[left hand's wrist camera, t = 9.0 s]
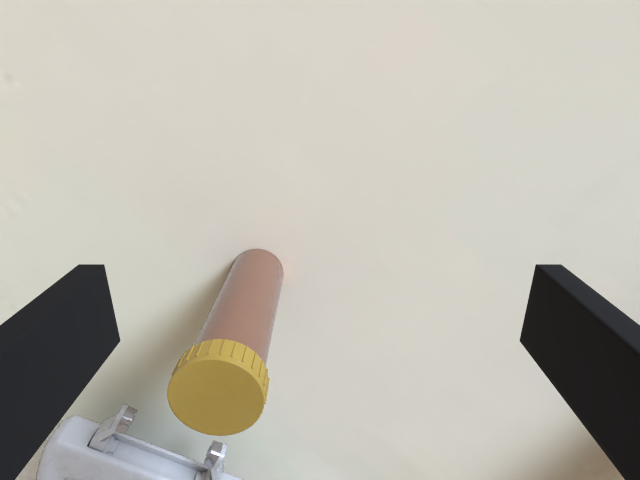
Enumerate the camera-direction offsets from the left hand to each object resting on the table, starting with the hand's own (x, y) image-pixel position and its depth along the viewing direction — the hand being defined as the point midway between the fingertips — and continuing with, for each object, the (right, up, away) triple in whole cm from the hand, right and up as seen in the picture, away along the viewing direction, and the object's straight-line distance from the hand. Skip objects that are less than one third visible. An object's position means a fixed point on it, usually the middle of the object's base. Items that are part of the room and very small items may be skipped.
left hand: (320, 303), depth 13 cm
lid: (-6, -8, +12) cm, 16 cm away
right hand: (-14, -16, +27) cm, 34 cm away
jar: (-6, -1, +28) cm, 29 cm away
